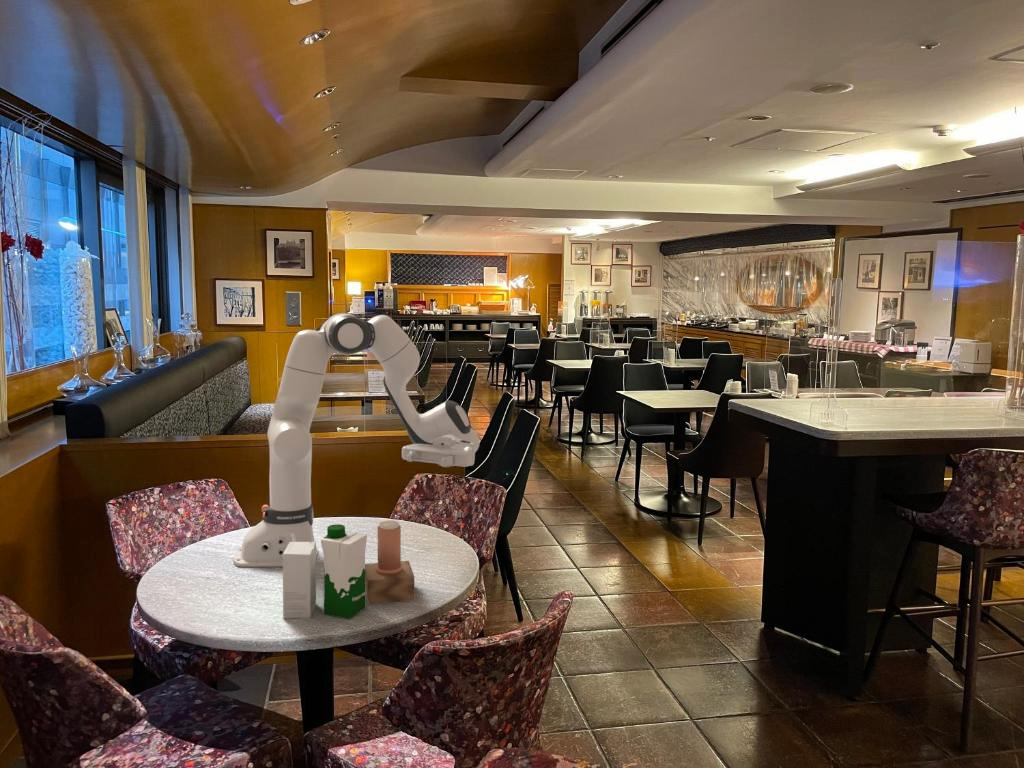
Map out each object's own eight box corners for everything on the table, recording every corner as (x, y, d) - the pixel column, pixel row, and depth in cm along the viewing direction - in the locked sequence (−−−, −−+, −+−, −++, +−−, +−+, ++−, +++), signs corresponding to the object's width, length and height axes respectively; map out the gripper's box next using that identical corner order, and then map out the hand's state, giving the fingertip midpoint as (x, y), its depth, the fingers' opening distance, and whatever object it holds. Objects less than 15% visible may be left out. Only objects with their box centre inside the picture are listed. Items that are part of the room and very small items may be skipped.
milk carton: (339, 600, 180) (338, 520, 178) (371, 606, 177) (371, 525, 175) (317, 615, 172) (316, 531, 169) (351, 621, 169) (350, 536, 166)
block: (368, 604, 178) (368, 580, 178) (365, 586, 189) (364, 563, 188) (414, 600, 181) (414, 576, 180) (408, 583, 192) (408, 560, 191)
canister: (377, 576, 180) (376, 529, 179) (374, 566, 187) (374, 520, 185) (404, 573, 182) (404, 527, 180) (400, 564, 188) (400, 518, 187)
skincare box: (290, 604, 178) (288, 541, 176) (318, 603, 178) (317, 540, 176) (282, 619, 169) (280, 553, 167) (312, 619, 170) (310, 553, 168)
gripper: (415, 436, 218) (390, 445, 205) (479, 443, 210) (458, 452, 197) (415, 457, 218) (390, 467, 205) (479, 465, 211) (458, 476, 198)
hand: (424, 460), depth 201 cm, fingers open, 8 cm apart
